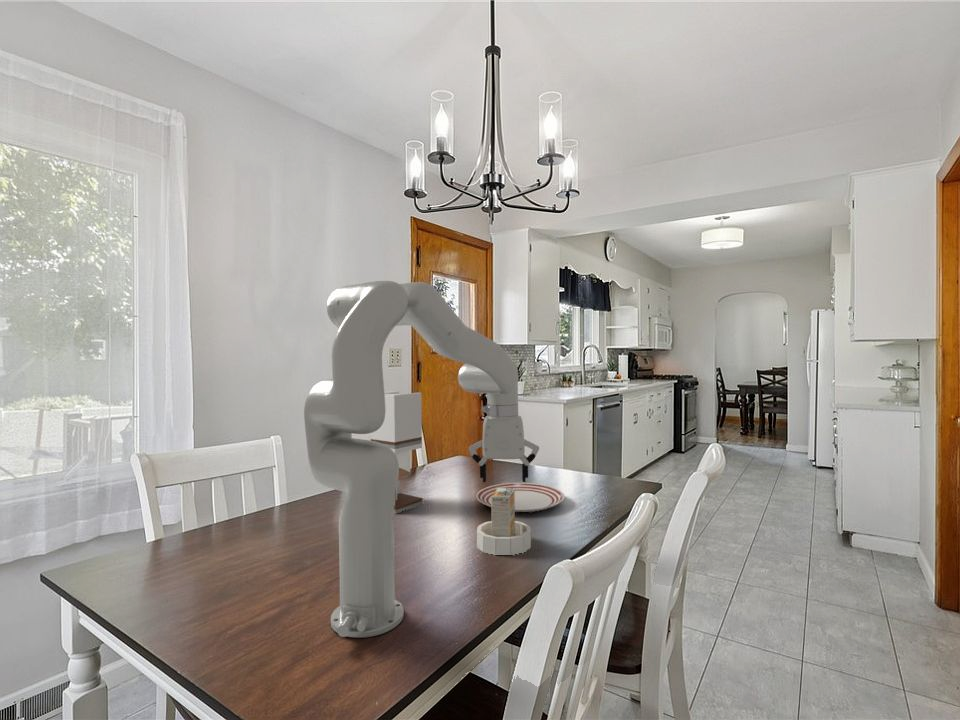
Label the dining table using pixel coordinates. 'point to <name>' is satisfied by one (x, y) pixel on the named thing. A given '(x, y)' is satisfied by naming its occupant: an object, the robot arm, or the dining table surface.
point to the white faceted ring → (504, 540)
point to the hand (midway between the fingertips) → (504, 480)
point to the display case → (402, 438)
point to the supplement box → (503, 512)
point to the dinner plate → (525, 496)
